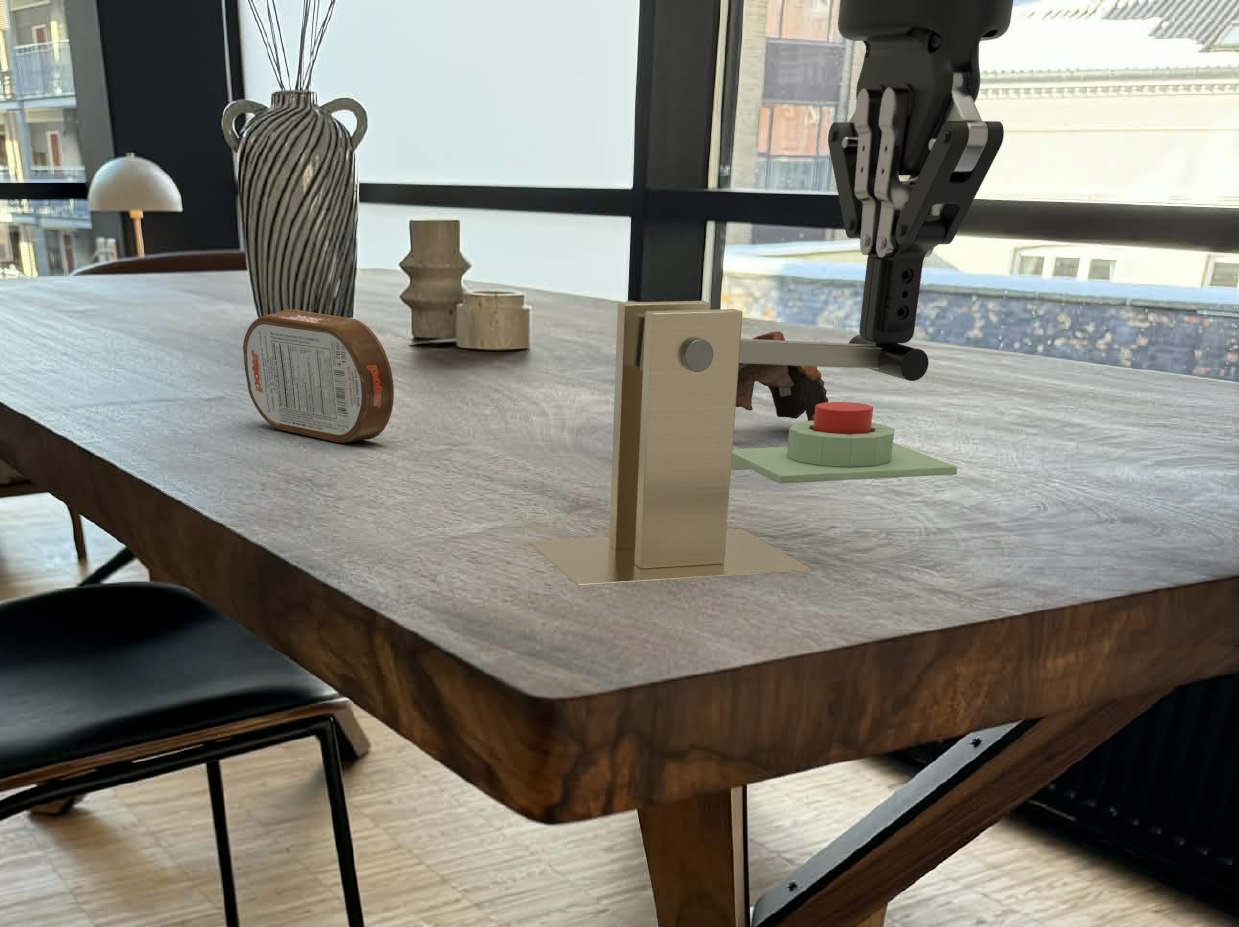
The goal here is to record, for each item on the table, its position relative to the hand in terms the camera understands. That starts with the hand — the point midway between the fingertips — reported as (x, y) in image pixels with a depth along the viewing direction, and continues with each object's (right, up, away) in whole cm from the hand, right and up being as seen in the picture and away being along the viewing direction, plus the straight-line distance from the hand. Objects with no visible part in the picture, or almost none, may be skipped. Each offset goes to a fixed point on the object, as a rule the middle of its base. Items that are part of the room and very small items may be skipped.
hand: (885, 340), depth 74 cm
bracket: (-10, -11, +3) cm, 15 cm away
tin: (-33, +9, +40) cm, 52 cm away
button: (+3, +4, +23) cm, 23 cm away
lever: (-6, -2, -1) cm, 6 cm away
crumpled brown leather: (+1, +10, +40) cm, 41 cm away
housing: (+3, +1, +24) cm, 24 cm away
